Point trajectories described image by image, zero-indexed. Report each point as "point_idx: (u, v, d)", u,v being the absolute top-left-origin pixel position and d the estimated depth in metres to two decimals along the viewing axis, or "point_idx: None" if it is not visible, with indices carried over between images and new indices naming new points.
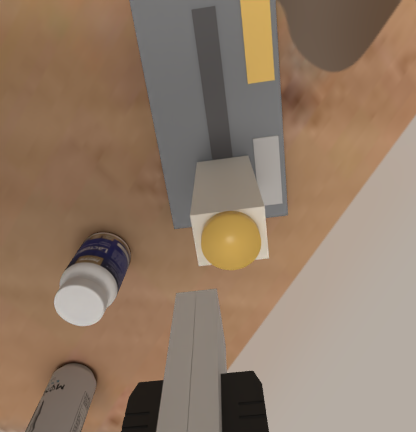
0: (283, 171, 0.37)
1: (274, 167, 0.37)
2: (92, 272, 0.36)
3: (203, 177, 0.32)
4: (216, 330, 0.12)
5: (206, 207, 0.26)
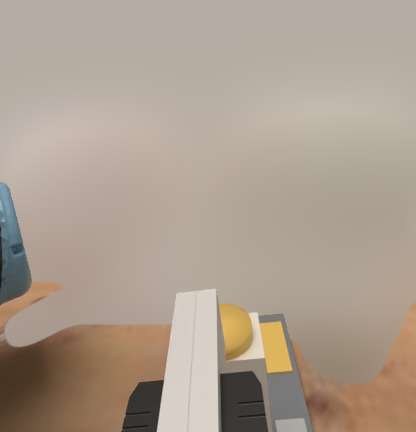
0: None
1: None
2: None
3: None
4: (216, 330, 0.12)
5: None
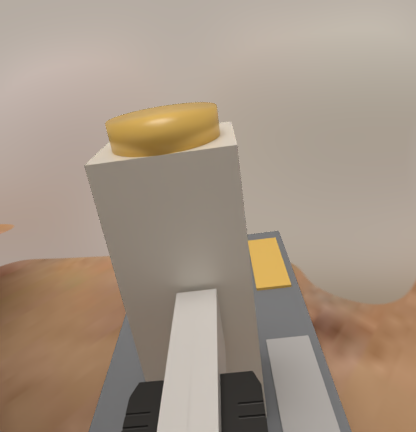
0: (332, 391, 0.18)
1: (311, 380, 0.19)
2: None
3: None
4: (216, 330, 0.12)
5: None
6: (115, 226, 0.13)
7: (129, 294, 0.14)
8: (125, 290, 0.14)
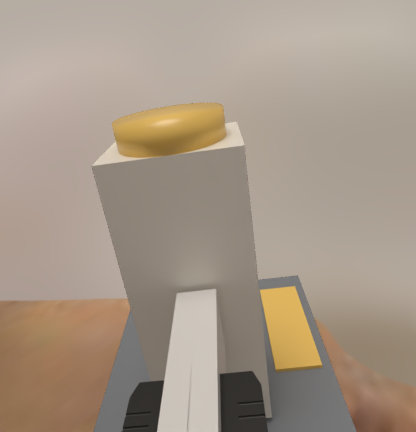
0: None
1: None
2: None
3: None
4: (215, 330, 0.12)
5: None
6: (122, 226, 0.13)
7: (135, 294, 0.14)
8: (131, 290, 0.14)
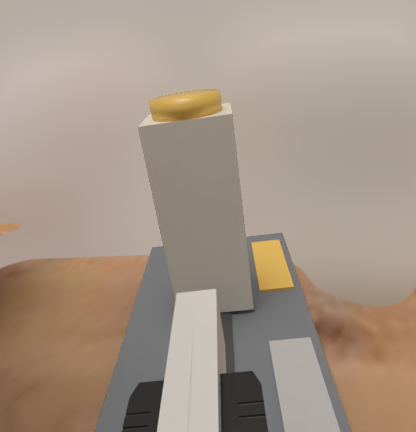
0: (333, 392, 0.19)
1: (312, 381, 0.19)
2: None
3: None
4: (216, 330, 0.12)
5: None
6: (155, 167, 0.21)
7: (162, 214, 0.22)
8: (159, 211, 0.22)
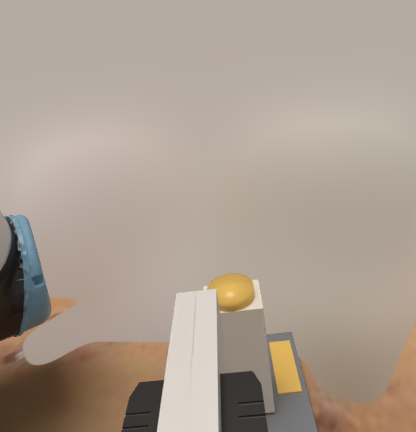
0: None
1: None
2: None
3: None
4: (216, 330, 0.12)
5: None
6: None
7: None
8: None
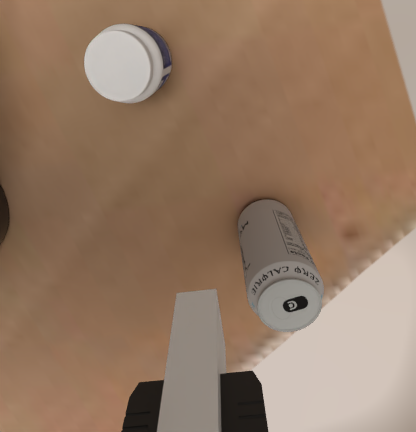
0: None
1: None
2: None
3: None
4: (216, 330, 0.12)
5: None
6: None
7: None
8: None
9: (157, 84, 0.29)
